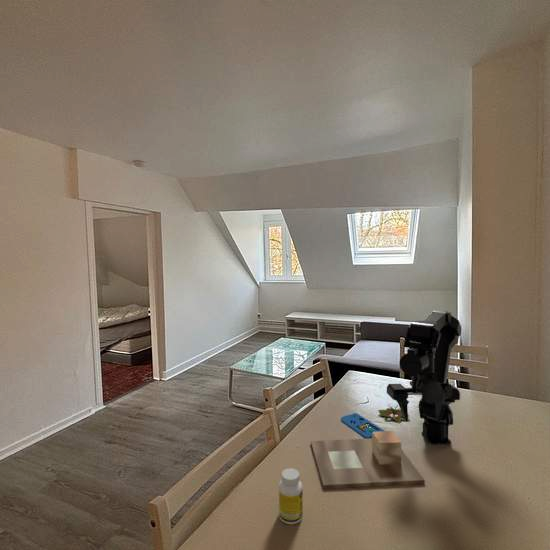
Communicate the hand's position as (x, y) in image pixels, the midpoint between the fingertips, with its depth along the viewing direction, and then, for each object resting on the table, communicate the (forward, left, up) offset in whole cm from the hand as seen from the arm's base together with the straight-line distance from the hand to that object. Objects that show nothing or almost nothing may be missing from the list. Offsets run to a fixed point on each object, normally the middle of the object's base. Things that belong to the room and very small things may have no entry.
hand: (422, 421), depth 93 cm
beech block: (+10, 0, -10) cm, 14 cm away
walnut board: (+17, 0, -11) cm, 21 cm away
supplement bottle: (+39, +18, -11) cm, 45 cm away
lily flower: (-3, -26, -12) cm, 29 cm away
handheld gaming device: (+11, -20, -12) cm, 26 cm away
